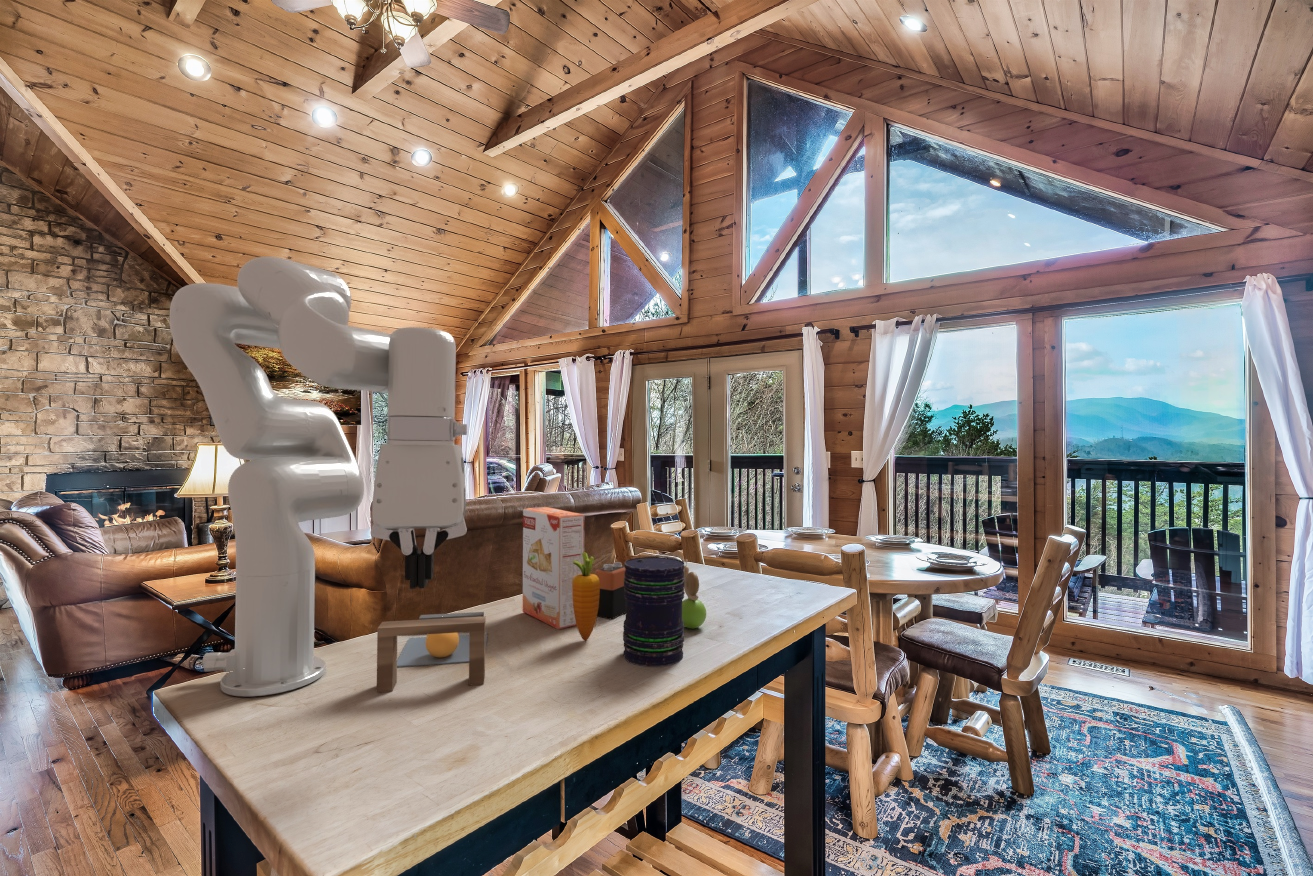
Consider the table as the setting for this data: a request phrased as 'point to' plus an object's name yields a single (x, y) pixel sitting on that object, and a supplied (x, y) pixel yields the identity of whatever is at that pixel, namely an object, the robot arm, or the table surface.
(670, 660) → the dark blue cylinder
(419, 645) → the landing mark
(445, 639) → the ball
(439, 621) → the bridge
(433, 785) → the table surface
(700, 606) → the snail figurine
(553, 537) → the cracker box
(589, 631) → the carrot
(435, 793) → the table surface
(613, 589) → the battery
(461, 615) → the wall
